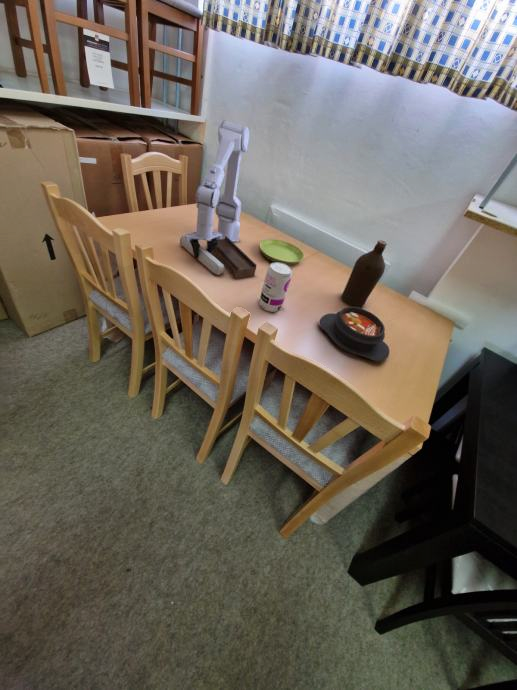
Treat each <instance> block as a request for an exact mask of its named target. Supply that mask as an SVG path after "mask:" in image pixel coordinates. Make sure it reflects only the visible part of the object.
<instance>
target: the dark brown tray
mask: <svg viewBox="0 0 517 690" xmlns="http://www.w3.org/2000/svg"><path fill="white" fill-rule="evenodd" d="M217 241H218V244H217V245H216V247H215V248H214V250H213V251H215V252H216V253H217V254H218V255H219V256H220V257H221V258H222V259H223V260H224V261H225V262H226V263H227V264H228V265H229V266H230V268H231V269H232V270H233V271H234V276H233V279H234V280H242V279H243V280H244V279H247V278H248V279H249V278H254V277H255V274H256V270H257V265H258V264H256V263H255V262H254V261H253V260H252V258H250V257H249V256H248V255H247V254H246V253H245V252H244V251H243V250H242V249H240V247H238V245H237V244H235V243H234V242H232V241H231V240H230V239H229V238H228V237H227V236H225V239H217Z"/></svg>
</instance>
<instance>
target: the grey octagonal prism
mask: <svg viewBox="0 0 517 690" xmlns="http://www.w3.org/2000/svg"><path fill="white" fill-rule="evenodd" d="M185 234H186V233H185ZM185 234H182V235H181V236H180V238H179V245H180V246H182V247H183V248H184V249H186V250H187V251H188V252H189V253H190V254H191V255H192V256H194V252H193V248H192V245H191V243H190V241H189V242H186V240H185V239H184V238H185ZM197 260H198V261H199V262H200V263H202V265H204V266H205V268H207V269H208V270H209V271H210V272H212V273H213V274H214V275H216V276H220V275H222V274H223V273H224V272H225V264H224V263H222V262H221V261H220V260H219V259H218V258H216V257H215V256H214V255H213V254H210V253H209V252H208V251H207V249H205V248H204V247H203V246H202V245H201V244H200V248H199V254H198V259H197Z"/></svg>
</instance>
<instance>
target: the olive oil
mask: <svg viewBox="0 0 517 690" xmlns="http://www.w3.org/2000/svg"><path fill="white" fill-rule="evenodd" d="M387 245H388V243H387V242H386V241H384V240H381V239H379V240H377V243H376V244H375V246H374V247H373V250H371V251H368V252H365V253H364V254H362V255H360V256H359V257H358V258H357V259H356V260H355V263H354V266H353V268H352V270H351V273H350V275H349V278H348V279H347V283H346V284H345V286H344V288H343V292H342V293H341V296H340V299H341V301H342V302H343V303H344V304H345V305H347V306H348V307H357V308H361V309H362V308H363V307H364V306H365V304H366V302H367V301H368V299H369V297H370V295H371V294H372V292H373V291H374V289H375V287H376V286H377V284H378V283H379V281H380V280H381V278H382V276H383V275H384V273H385V270H386V263H385V260H384V259H385V258H384V256H383V253H384V251H385V249H386V246H387Z"/></svg>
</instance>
